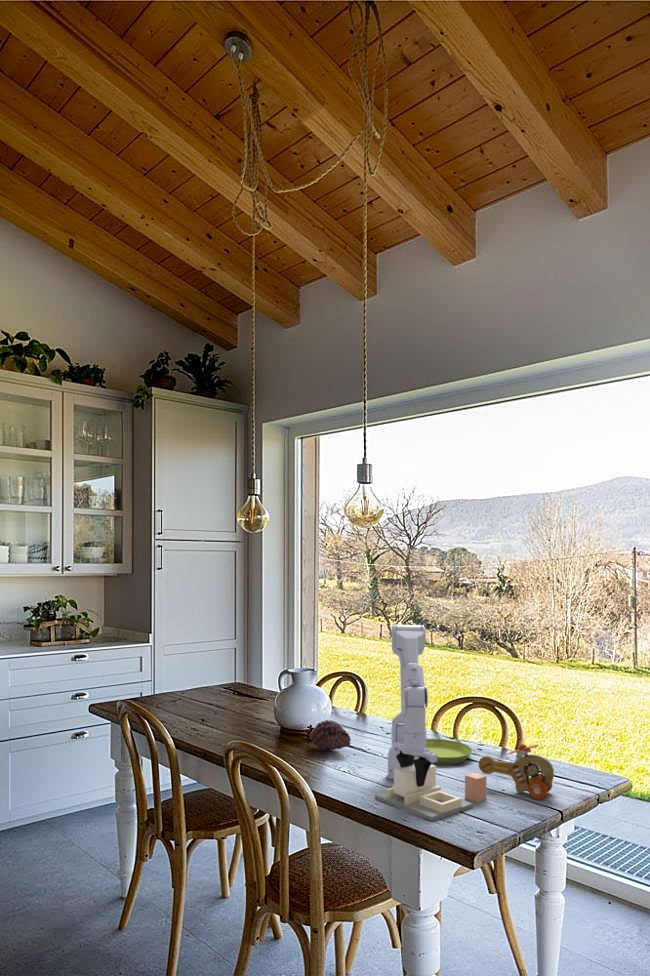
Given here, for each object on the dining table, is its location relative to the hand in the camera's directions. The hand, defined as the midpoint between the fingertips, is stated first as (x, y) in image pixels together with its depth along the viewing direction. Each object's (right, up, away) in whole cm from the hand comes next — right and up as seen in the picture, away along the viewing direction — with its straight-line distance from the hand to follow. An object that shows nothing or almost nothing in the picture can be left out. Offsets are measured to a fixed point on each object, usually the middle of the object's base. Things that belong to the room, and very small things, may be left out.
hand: (414, 783), depth 200 cm
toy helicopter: (+30, -5, +8) cm, 31 cm away
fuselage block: (0, -2, 0) cm, 2 cm away
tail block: (+17, -5, +2) cm, 17 cm away
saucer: (+13, -8, +40) cm, 43 cm away
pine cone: (-22, -7, +43) cm, 49 cm away
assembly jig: (+2, -4, -3) cm, 5 cm away
